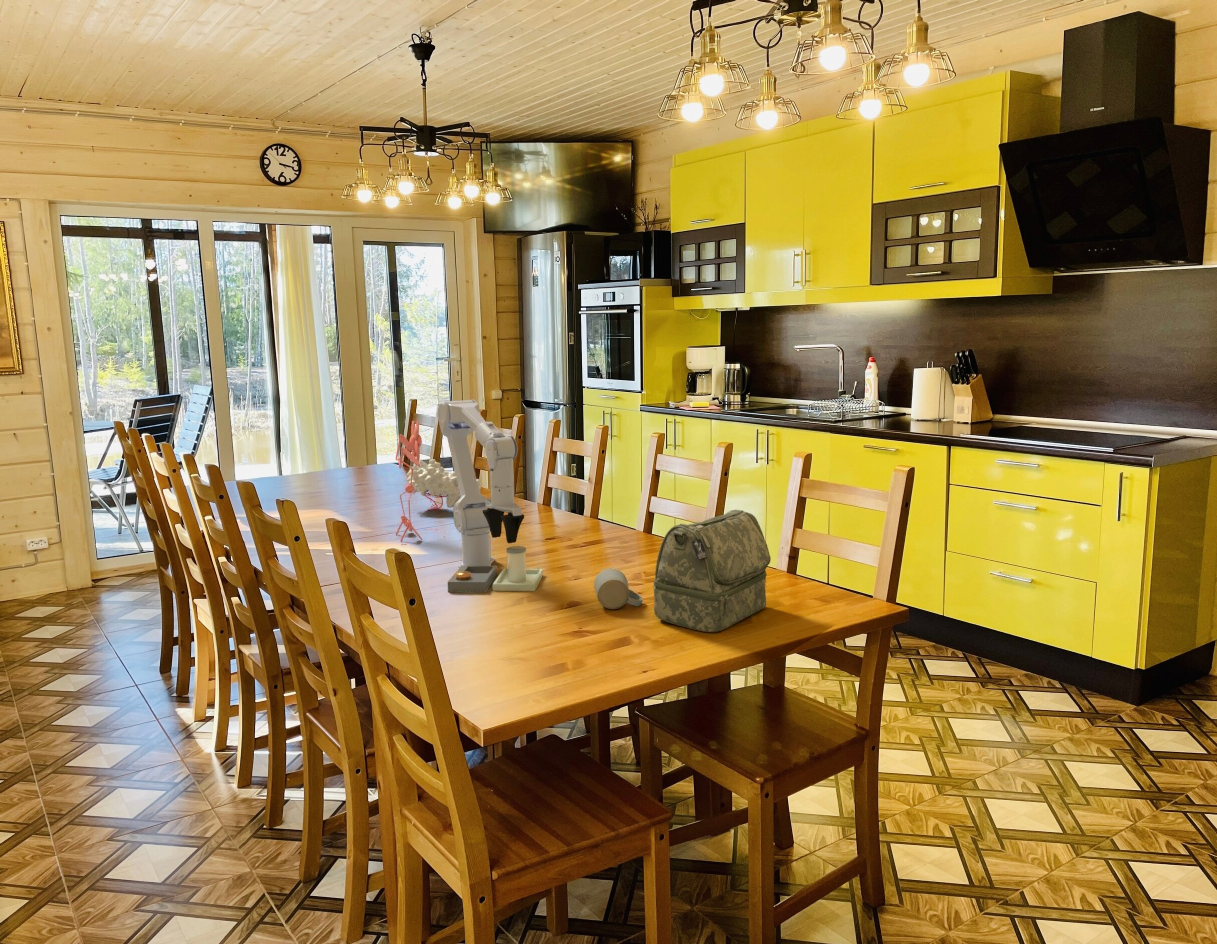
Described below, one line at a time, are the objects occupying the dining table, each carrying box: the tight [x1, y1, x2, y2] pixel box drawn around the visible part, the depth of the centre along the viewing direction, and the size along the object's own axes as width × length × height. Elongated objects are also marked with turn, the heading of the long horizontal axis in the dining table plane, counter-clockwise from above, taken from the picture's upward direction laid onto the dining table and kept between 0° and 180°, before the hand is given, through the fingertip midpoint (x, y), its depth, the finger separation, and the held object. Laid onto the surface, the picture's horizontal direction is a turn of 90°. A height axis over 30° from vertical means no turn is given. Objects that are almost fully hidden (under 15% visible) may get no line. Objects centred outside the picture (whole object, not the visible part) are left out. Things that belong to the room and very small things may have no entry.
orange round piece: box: [455, 571, 471, 580], centre depth 216 cm, size 4×4×4 cm
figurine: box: [394, 420, 446, 546], centre depth 269 cm, size 15×26×35 cm, turn 22°
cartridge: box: [505, 545, 527, 583], centre depth 220 cm, size 5×5×8 cm
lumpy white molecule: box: [406, 458, 482, 512], centre depth 310 cm, size 20×18×25 cm
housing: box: [447, 565, 498, 593], centre depth 220 cm, size 15×9×2 cm, turn 176°
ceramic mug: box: [594, 567, 644, 610], centre depth 201 cm, size 11×8×8 cm
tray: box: [492, 568, 544, 592], centre depth 220 cm, size 14×10×2 cm
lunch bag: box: [653, 509, 772, 633], centre depth 192 cm, size 26×18×22 cm
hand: (503, 539), depth 222 cm, fingers open, 7 cm apart
